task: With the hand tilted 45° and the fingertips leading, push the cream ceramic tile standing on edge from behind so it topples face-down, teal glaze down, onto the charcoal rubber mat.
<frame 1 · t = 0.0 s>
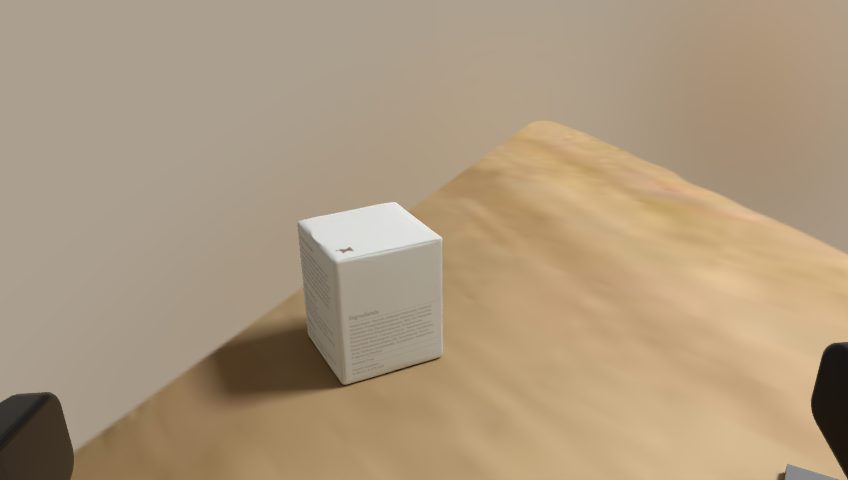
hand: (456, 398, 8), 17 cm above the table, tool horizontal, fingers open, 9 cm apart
product box: (373, 349, 40), on the table
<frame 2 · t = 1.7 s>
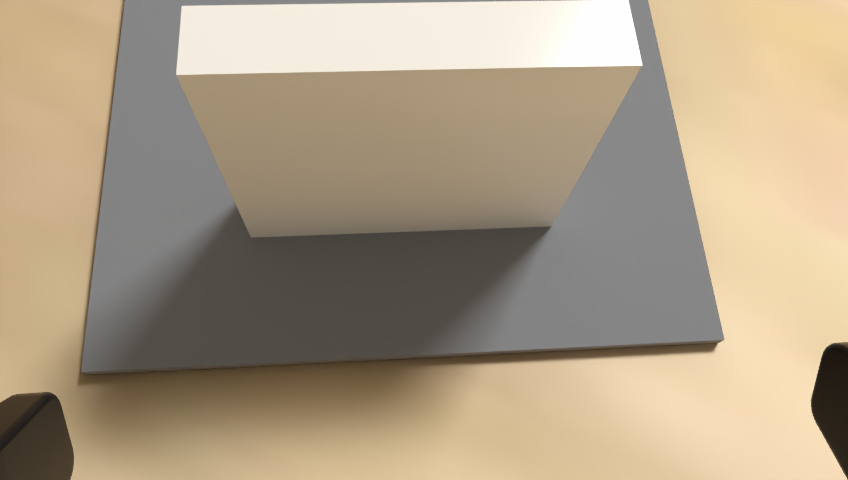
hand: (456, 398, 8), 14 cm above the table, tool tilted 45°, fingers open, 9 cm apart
mat: (397, 89, 26), on the table
tile: (402, 207, 24), resting on mat
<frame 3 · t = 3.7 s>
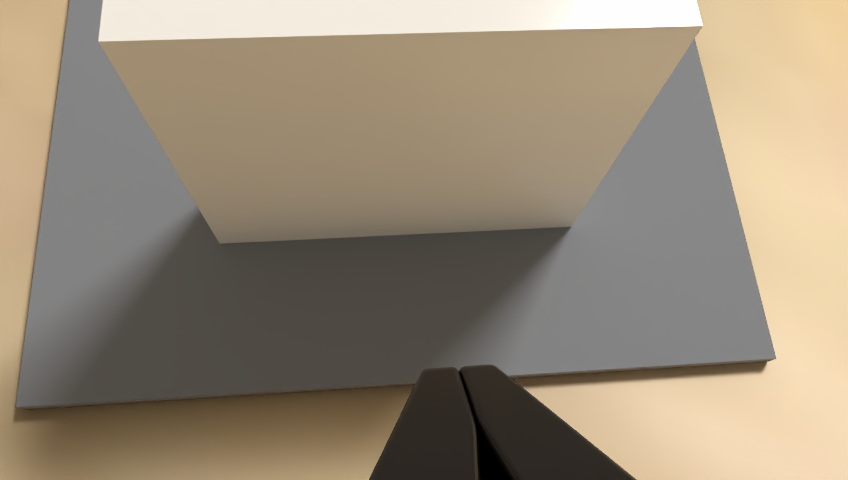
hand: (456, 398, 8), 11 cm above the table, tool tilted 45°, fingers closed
mat: (390, 69, 23), on the table
tile: (397, 206, 20), resting on mat
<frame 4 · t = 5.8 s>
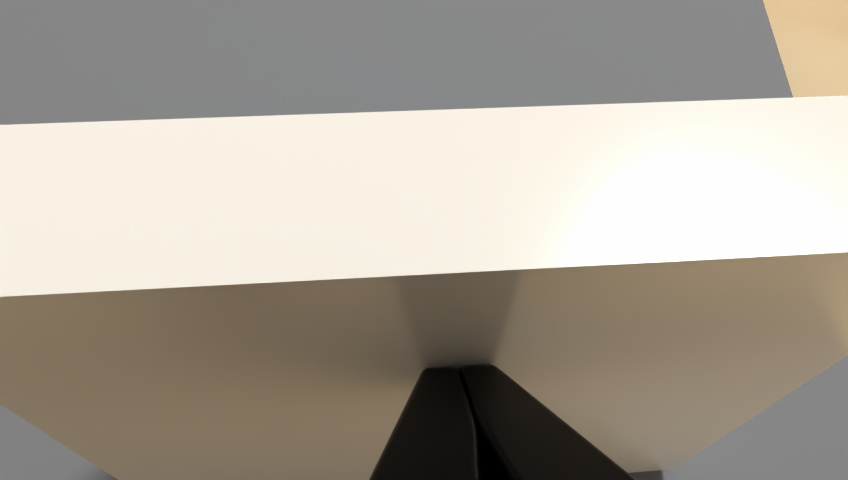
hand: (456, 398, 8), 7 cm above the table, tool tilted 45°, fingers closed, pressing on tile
mat: (408, 226, 17), on the table
tile: (421, 441, 14), point 1 cm above the table, tilted 9°, touching gripper, mat
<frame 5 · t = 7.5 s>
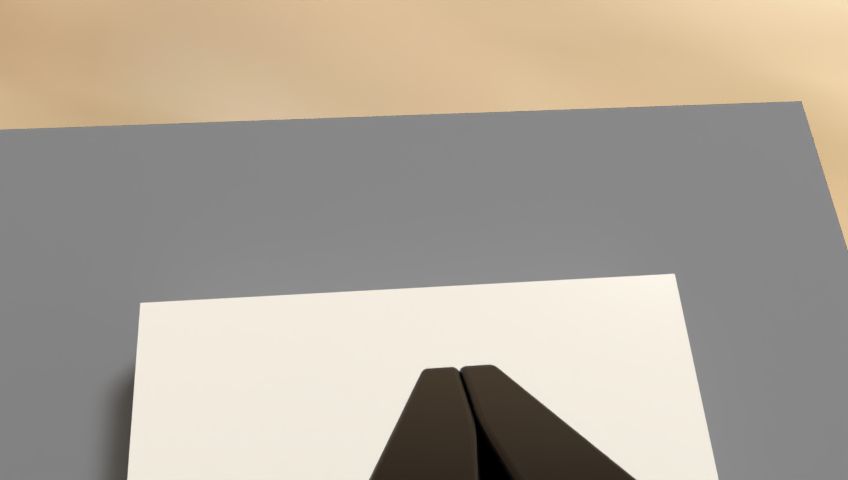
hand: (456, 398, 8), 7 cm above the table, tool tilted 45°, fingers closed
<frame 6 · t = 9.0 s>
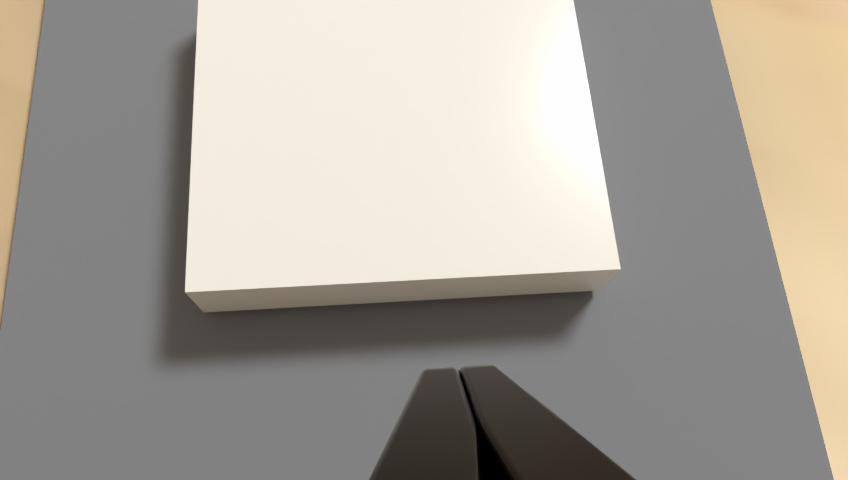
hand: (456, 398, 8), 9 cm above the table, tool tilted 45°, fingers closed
mat: (398, 171, 20), on the table
tile: (406, 291, 17), point 1 cm above the table, tilted 90°, touching mat
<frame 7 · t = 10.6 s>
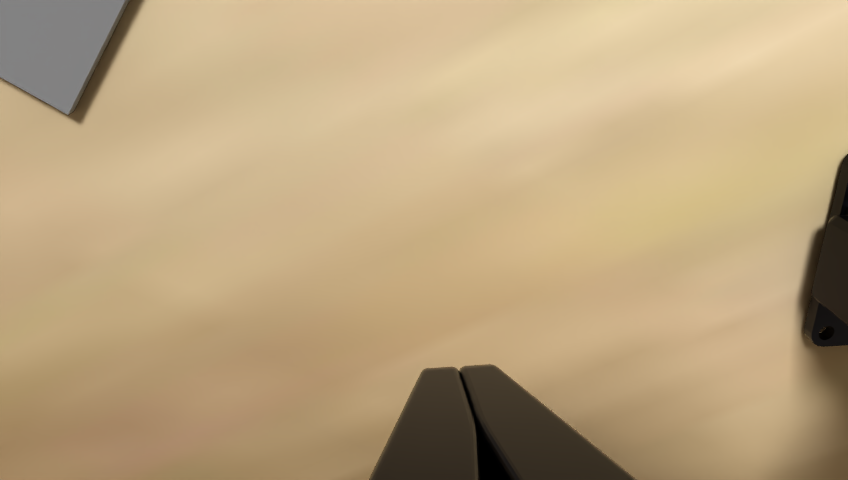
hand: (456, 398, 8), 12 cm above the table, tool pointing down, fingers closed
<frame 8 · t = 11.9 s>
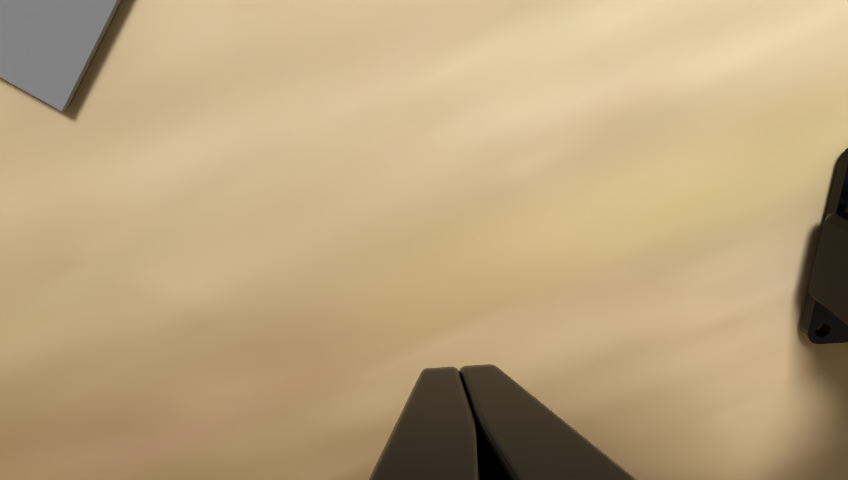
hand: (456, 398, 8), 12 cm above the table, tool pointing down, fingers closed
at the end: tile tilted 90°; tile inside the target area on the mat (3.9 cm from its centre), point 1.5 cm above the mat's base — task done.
